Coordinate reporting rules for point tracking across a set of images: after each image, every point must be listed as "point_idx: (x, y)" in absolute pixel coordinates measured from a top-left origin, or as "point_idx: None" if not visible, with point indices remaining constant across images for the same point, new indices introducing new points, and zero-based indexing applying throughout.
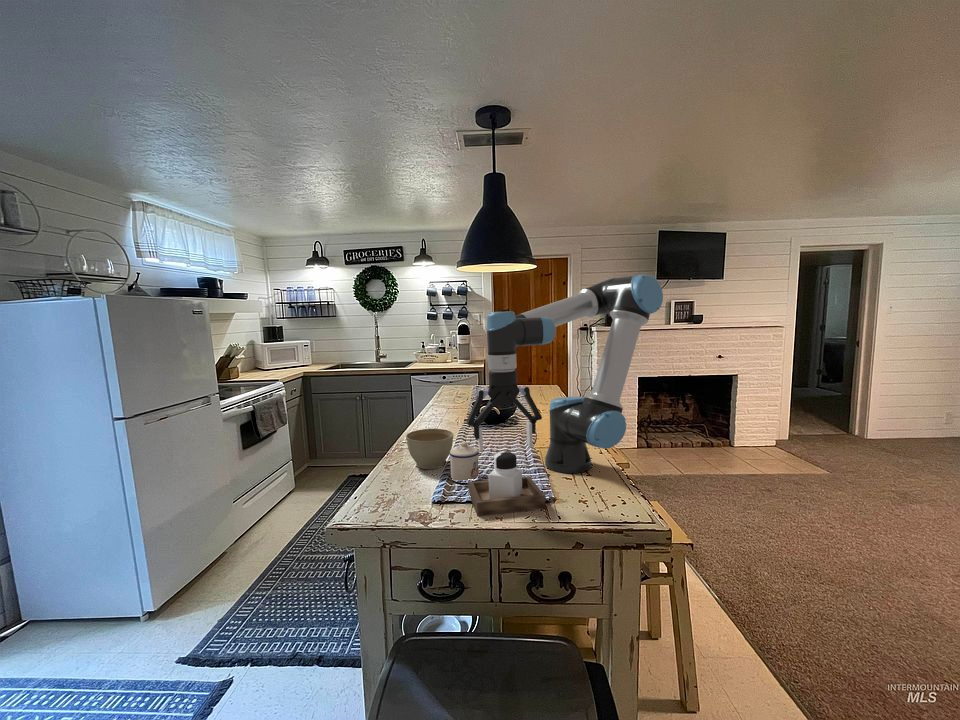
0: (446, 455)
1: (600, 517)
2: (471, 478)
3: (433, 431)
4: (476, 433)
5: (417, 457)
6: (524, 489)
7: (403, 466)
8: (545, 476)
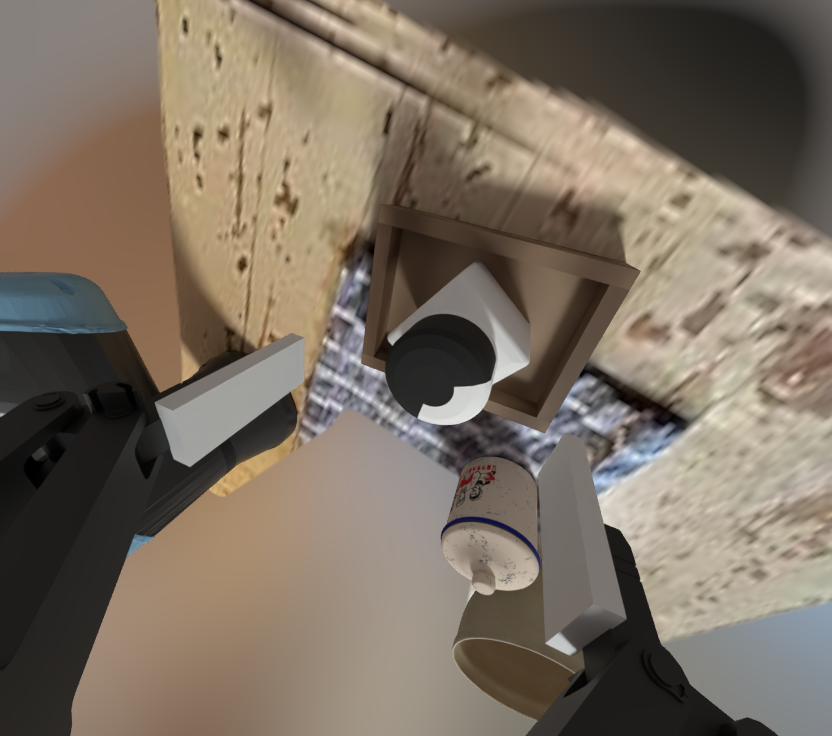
0: None
1: (279, 61)
2: (495, 464)
3: (487, 683)
4: (623, 576)
5: None
6: None
7: None
8: (316, 381)
